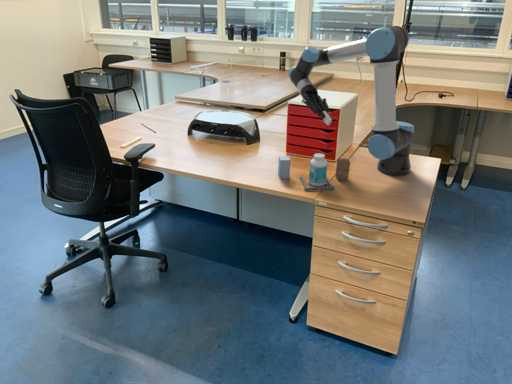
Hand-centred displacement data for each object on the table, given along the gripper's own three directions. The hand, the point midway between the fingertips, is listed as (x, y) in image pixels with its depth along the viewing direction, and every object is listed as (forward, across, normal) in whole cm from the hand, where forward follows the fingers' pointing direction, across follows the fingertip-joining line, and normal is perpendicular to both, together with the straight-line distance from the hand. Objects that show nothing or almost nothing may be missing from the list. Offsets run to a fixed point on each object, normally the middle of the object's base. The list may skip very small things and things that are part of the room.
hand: (329, 122), depth 187 cm
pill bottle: (+18, +6, -20) cm, 28 cm away
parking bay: (+17, +6, -20) cm, 27 cm away
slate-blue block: (+7, +15, -26) cm, 31 cm away
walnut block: (+17, -7, -18) cm, 26 cm away
